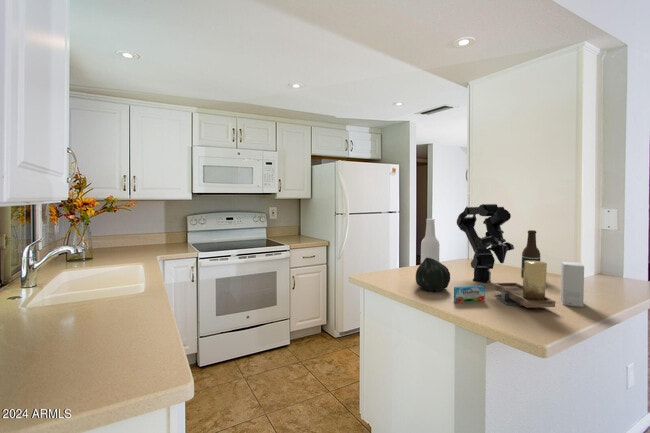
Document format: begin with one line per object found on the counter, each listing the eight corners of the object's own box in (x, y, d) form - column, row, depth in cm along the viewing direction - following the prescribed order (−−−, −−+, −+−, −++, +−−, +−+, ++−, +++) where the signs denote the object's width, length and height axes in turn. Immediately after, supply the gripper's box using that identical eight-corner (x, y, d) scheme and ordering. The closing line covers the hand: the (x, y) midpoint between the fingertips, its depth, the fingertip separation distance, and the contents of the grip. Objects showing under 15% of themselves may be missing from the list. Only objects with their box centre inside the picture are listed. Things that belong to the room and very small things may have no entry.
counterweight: (520, 300, 120) (522, 262, 118) (524, 295, 125) (525, 259, 124) (543, 304, 115) (545, 265, 114) (546, 299, 120) (548, 262, 119)
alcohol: (441, 277, 164) (442, 218, 162) (434, 281, 157) (435, 219, 155) (425, 275, 169) (425, 217, 167) (417, 278, 163) (418, 219, 161)
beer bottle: (539, 277, 163) (541, 230, 161) (539, 281, 156) (541, 231, 155) (521, 275, 167) (523, 229, 165) (520, 279, 160) (522, 230, 159)
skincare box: (583, 307, 120) (585, 266, 119) (561, 304, 123) (563, 264, 122) (580, 301, 127) (582, 262, 126) (559, 298, 130) (561, 260, 129)
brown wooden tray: (492, 287, 138) (492, 282, 138) (516, 287, 139) (516, 282, 138) (526, 307, 116) (527, 301, 115) (555, 307, 116) (555, 301, 116)
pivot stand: (496, 298, 131) (496, 289, 131) (533, 298, 131) (533, 289, 131) (507, 305, 123) (508, 296, 123) (546, 304, 123) (547, 295, 123)
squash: (461, 277, 143) (439, 250, 149) (447, 286, 132) (424, 256, 138) (438, 293, 151) (418, 266, 157) (423, 302, 140) (402, 273, 146)
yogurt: (482, 300, 129) (483, 285, 128) (484, 302, 127) (485, 286, 127) (453, 302, 128) (453, 286, 127) (455, 303, 126) (455, 287, 126)
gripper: (486, 238, 158) (494, 270, 151) (466, 230, 147) (473, 263, 141) (510, 231, 150) (519, 264, 143) (490, 222, 139) (498, 257, 133)
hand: (502, 263), depth 140 cm, fingers closed
